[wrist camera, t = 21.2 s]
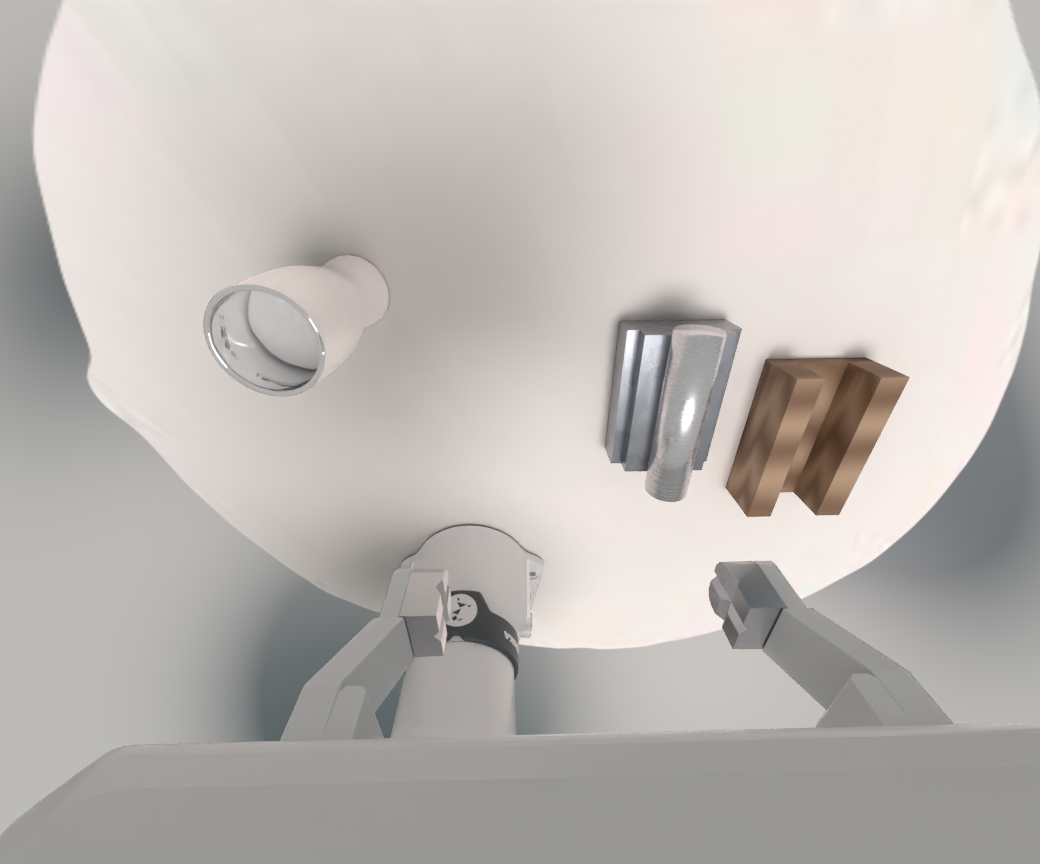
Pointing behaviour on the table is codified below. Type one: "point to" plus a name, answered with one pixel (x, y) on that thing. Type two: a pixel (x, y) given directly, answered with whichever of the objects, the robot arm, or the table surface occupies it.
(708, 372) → the axle
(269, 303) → the beer glass
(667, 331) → the v block
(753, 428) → the wooden channel cradle
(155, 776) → the robot arm
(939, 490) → the table surface
